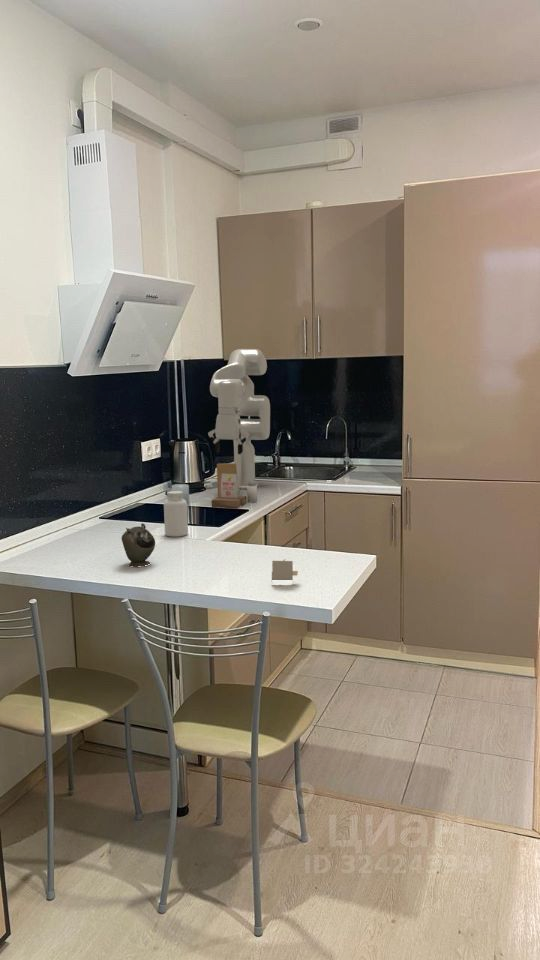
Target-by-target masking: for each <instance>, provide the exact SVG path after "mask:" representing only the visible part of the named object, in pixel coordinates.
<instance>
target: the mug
mask: <svg viewBox="0 0 540 960" xmlns="http://www.w3.org/2000/svg"><path fill="white" fill-rule="evenodd" d="M170 491H182V492H183V498H182V499H184V500H185V501H186V502H187V506H189V505H190V486H189V484H186V483H175V484H172V485H171V488H166V494H167V493H168V492H170ZM167 497H168V496H166V500H168V498H167Z"/></svg>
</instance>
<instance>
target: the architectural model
mask: <svg viewBox="0 0 540 960" xmlns="http://www.w3.org/2000/svg"><path fill="white" fill-rule="evenodd" d="M293 562H294V561H293V560H286V559H285V558H284V559H283V560H272V561H271V563H272V566H271V569H272V570H271V581H272V580H293V581H294V579H293V577H294V576H295V577H296V576H298V575H299V573H298V572H299V571H298V570H293V568H294V567H293V565H294V564H293Z"/></svg>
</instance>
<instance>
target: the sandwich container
mask: <svg viewBox="0 0 540 960" xmlns="http://www.w3.org/2000/svg"><path fill="white" fill-rule="evenodd" d="M221 473H223V474H237V467H236V464H234V462H233V463H230V462H228V463H226V462H225V463H216V477H217V478H216V479H217V480H216V481H217V497H218V496H220V479H221ZM237 479H238V478H237ZM239 493H240V489H239V486H238V494H239Z"/></svg>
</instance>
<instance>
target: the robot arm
mask: <svg viewBox="0 0 540 960" xmlns="http://www.w3.org/2000/svg"><path fill="white" fill-rule="evenodd" d="M267 363H268V362H267V359H266V357H265V356H264V353H263V352H262V351H261V350H260V349H257V348H239V349H235V350H233V351H232V352H231V353H230V355H229V359H228V361H227V365H225V366H222V367H221V368H220V369H218V370H216V371H215V372H214V373H213V375H212V378H211V379H210V380H211V381H210V385H209V392H210V394H211V396H212V397H215V398H217V399H218V400H217V401H218V414H217V416H216V419H215V421H216V422H215V428H214V429H212V430H210V431H209V432H208V433H207V434H208V437H209V438H210V440H211V441H212V442H213V443H212V444H213V445H214V452H215V454H219V453H220V452H221V448H220V446H221V443H220V442H219V441H221V440H228V441H233V455H234V456H233V464H236V467H237V478H238V486H239V490H240V489H242V490H244V489H245V490H247V484H248V482H249V481H255V482H256V474H255V473H256V469H255V466H256V465H255V464H256V459H255V453H256V451H255V447H254V445H253V444H252V442H250V441H251V440H252V441H254V440H255V441H258V440H259V441H261V440H267V439H269V437H270V434H271V433H270V431H271V403H270V399H269V398H268V396H266V395H261V394H259V395H257V394H256V395H255V384H254V382H253V381H252V379H251V378H250V377H249V376H262V375H264V374H266V372H267V368H268V365H267ZM241 417H259V418H241ZM214 434H215V436H214ZM256 484H257V488H259V483H257V482H256Z"/></svg>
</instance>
